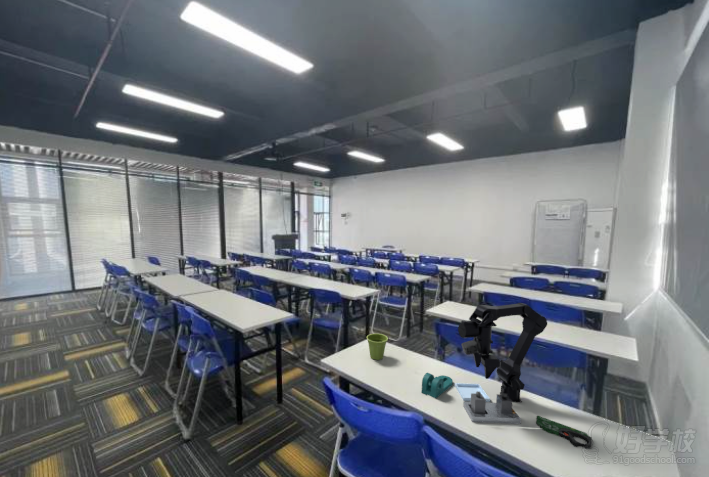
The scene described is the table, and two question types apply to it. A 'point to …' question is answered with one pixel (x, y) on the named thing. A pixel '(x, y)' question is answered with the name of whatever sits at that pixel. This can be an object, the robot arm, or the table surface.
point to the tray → (470, 391)
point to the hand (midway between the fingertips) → (482, 372)
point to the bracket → (435, 385)
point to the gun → (564, 432)
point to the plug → (478, 403)
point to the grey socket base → (495, 411)
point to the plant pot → (377, 345)
